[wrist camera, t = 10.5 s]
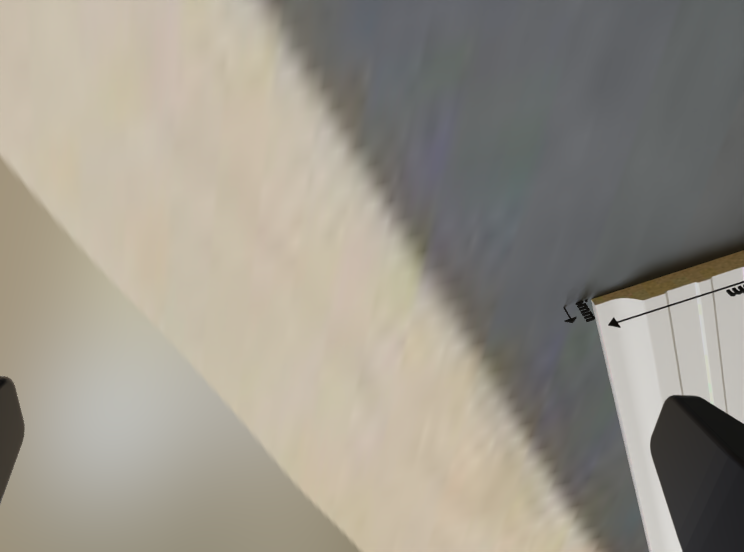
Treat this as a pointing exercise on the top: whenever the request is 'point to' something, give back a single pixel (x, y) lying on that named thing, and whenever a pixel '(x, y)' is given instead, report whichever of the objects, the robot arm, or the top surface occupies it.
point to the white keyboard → (671, 363)
